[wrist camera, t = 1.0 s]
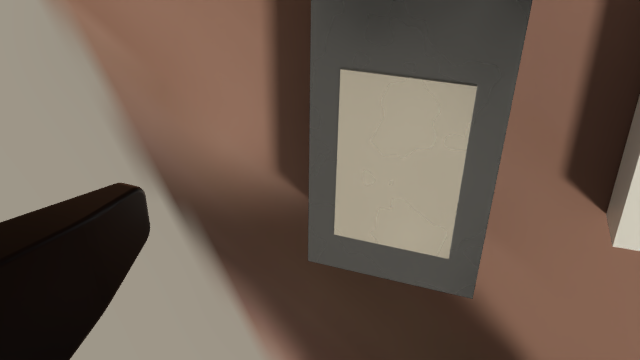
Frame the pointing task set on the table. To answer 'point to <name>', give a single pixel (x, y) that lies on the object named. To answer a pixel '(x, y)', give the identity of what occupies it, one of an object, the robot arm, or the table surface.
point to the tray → (627, 193)
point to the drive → (409, 133)
